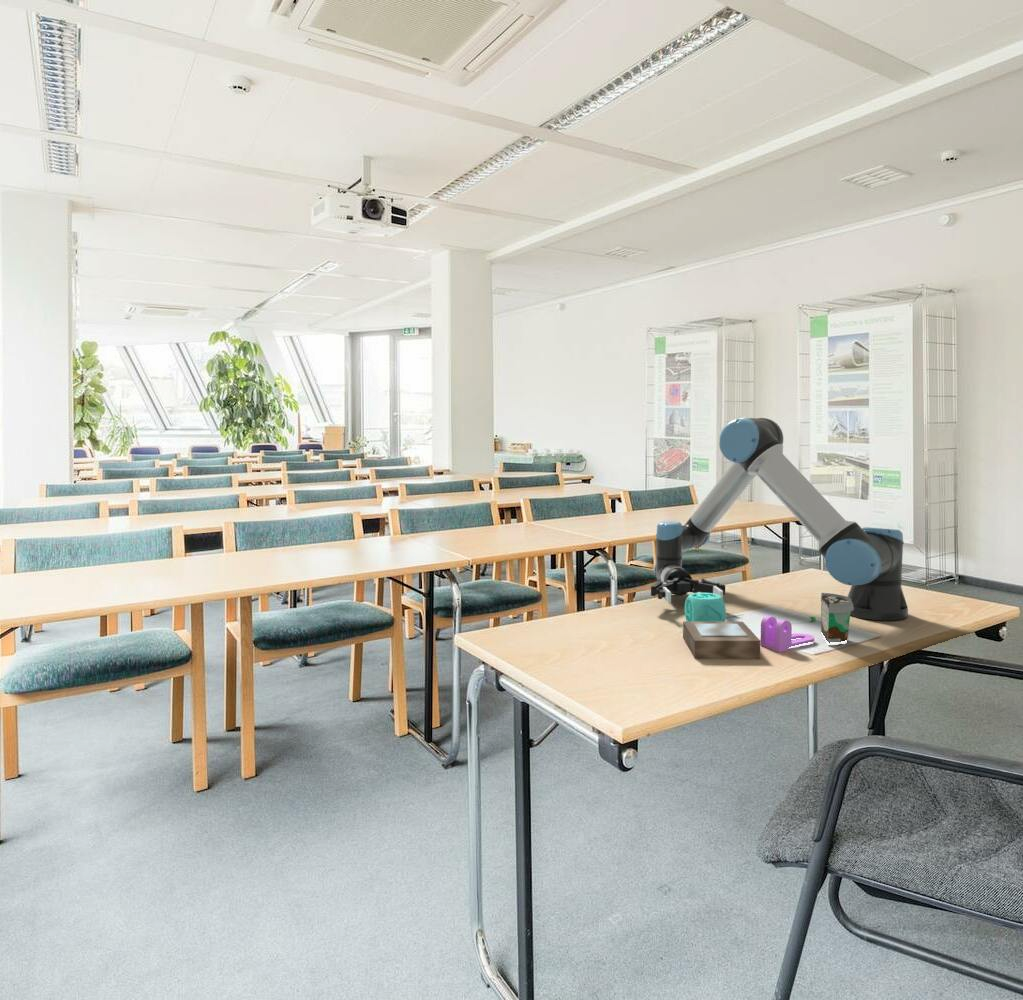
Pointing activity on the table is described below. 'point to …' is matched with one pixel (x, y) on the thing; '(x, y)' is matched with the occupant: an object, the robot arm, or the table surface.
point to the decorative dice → (705, 608)
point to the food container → (835, 616)
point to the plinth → (721, 640)
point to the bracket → (780, 634)
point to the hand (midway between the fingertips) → (695, 596)
